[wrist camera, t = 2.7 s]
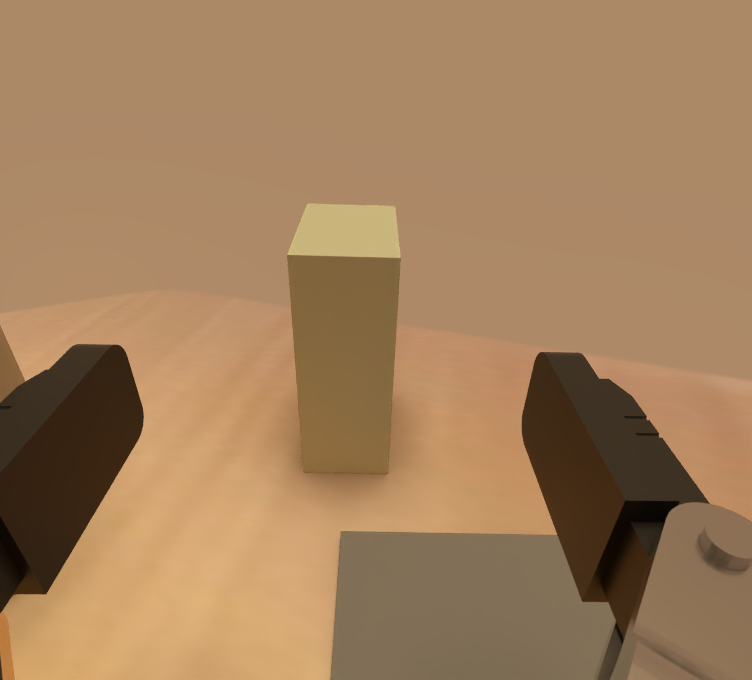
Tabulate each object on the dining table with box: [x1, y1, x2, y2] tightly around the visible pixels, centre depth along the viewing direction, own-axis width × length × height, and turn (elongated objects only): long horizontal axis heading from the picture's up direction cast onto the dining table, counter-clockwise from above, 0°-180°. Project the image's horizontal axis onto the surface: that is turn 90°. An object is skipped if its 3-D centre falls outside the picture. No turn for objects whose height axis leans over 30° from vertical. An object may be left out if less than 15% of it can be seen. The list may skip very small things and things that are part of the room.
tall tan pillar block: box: [287, 204, 401, 474], centre depth 23 cm, size 4×6×11 cm, turn 0°
